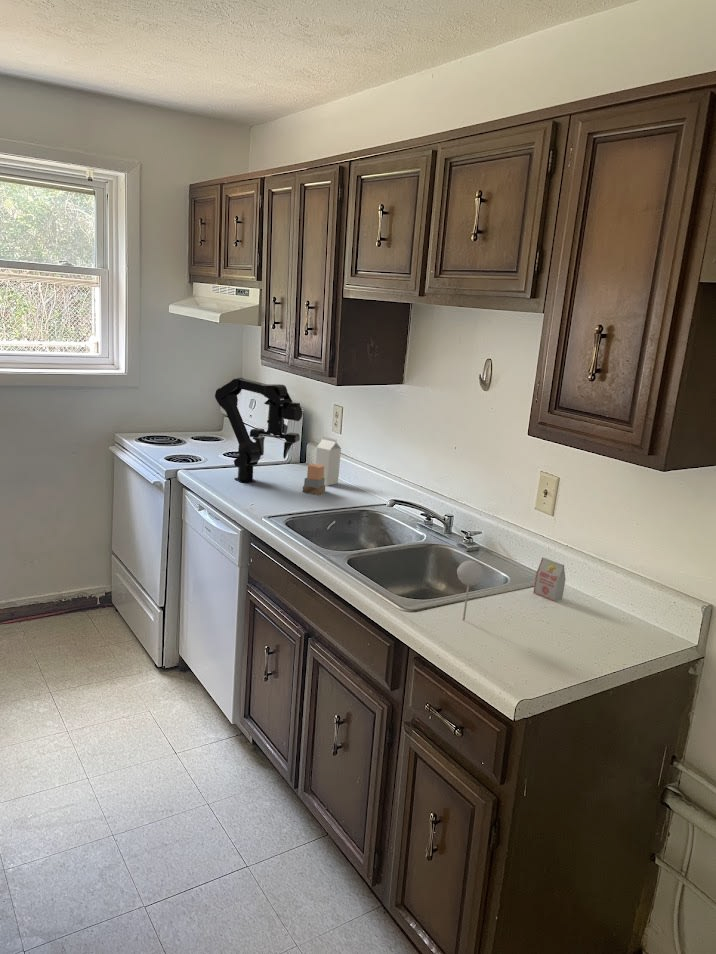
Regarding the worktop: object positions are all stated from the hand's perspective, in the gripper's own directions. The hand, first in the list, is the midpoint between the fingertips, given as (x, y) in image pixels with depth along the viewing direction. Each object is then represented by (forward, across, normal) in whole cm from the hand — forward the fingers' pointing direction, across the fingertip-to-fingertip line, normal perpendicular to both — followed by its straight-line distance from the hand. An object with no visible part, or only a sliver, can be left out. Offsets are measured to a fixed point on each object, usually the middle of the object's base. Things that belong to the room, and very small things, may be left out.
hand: (273, 456), depth 279 cm
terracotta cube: (+7, -17, -2) cm, 18 cm away
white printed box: (+12, -106, +69) cm, 127 cm away
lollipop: (+12, -86, +95) cm, 129 cm away
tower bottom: (+13, -17, -2) cm, 21 cm away
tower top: (+10, -17, -2) cm, 19 cm away
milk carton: (+12, -17, -19) cm, 28 cm away
